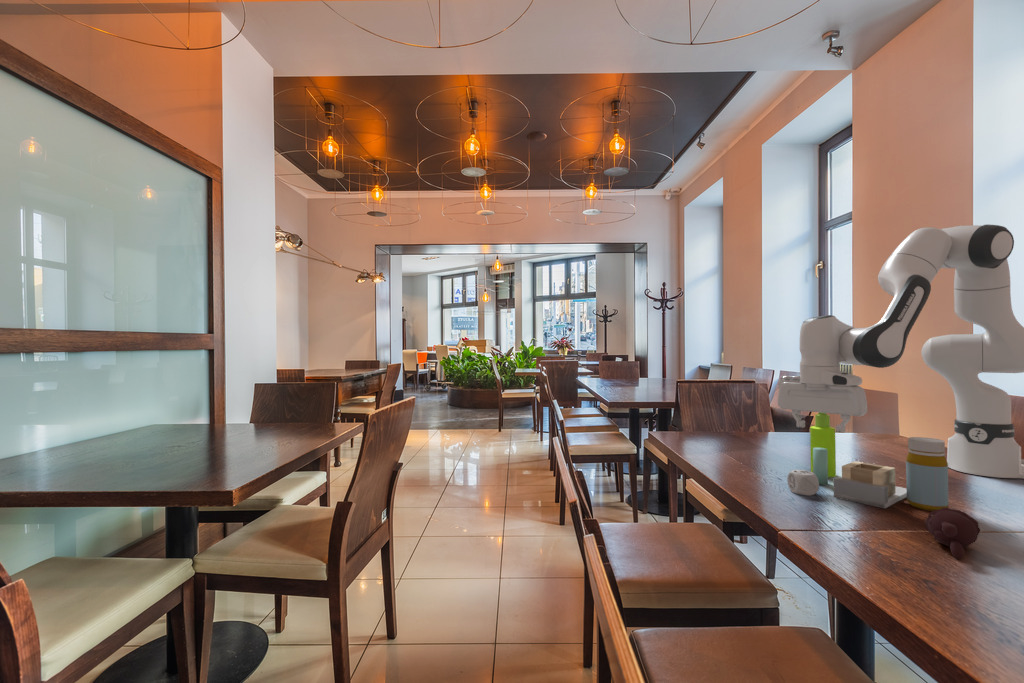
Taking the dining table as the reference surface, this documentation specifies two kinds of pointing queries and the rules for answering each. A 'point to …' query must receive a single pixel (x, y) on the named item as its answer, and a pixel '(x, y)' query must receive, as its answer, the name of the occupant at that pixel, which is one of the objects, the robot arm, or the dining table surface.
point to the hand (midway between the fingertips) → (820, 429)
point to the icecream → (953, 529)
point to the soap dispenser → (824, 441)
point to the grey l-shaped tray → (867, 492)
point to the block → (871, 474)
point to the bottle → (927, 474)
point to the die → (803, 482)
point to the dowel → (820, 465)
